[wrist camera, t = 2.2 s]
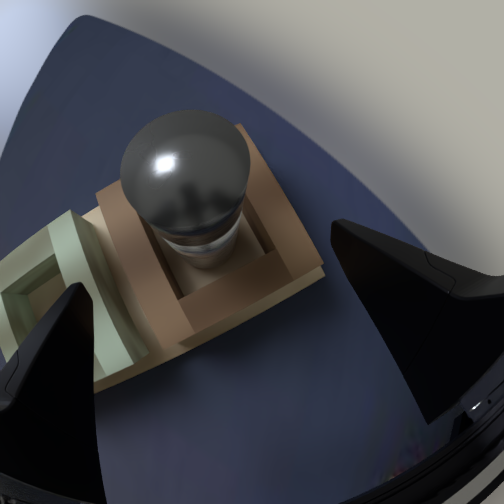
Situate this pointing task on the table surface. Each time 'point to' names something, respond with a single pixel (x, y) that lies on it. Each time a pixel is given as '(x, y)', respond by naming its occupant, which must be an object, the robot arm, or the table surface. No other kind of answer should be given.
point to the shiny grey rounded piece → (189, 183)
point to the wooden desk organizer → (156, 277)
